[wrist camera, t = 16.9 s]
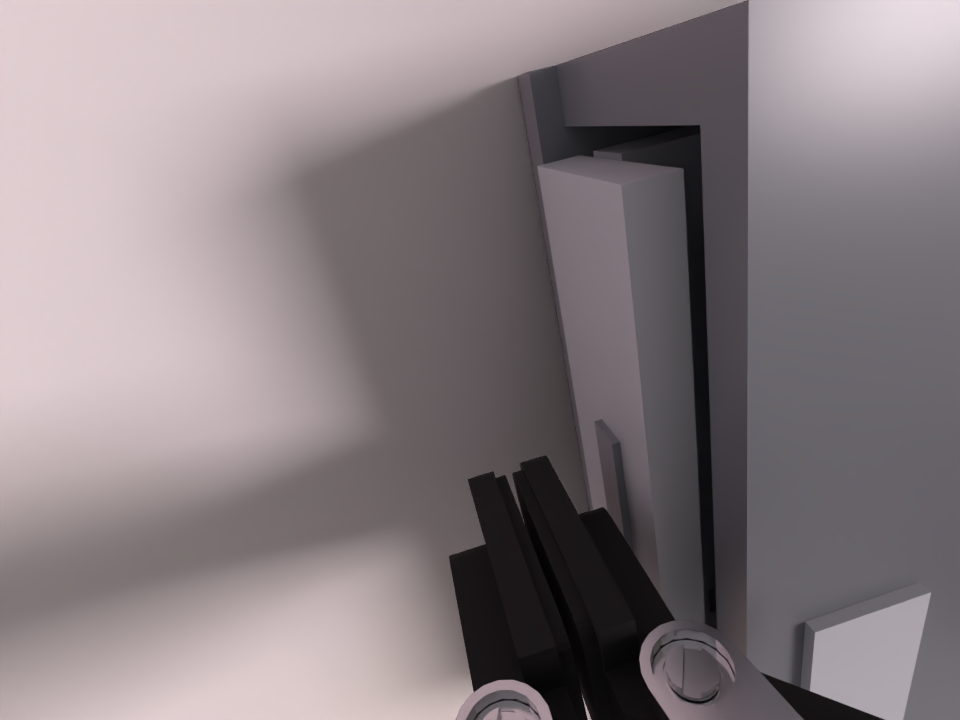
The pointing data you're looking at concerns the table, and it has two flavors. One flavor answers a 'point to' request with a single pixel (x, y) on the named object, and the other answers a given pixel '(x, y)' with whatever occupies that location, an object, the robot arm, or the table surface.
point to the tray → (641, 349)
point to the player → (814, 321)
